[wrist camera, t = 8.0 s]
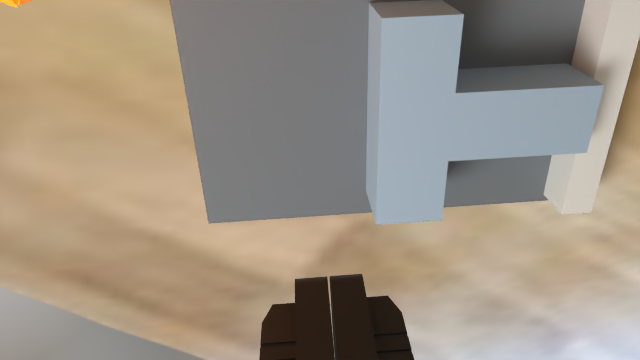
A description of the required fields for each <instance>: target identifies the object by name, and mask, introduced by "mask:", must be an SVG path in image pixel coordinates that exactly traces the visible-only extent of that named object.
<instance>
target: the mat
mask: <svg viewBox="0 0 640 360" xmlns="http://www.w3.org/2000/svg"><path fill="white" fill-rule="evenodd" d="M398 1H420V0H170V5H171V11H172V16H173V22H174V28H175V33H176V39H177V45H178V51H179V56H180V62H181V68H182V73H183V79H184V85H185V91H186V96H187V102H188V108H189V113H190V119H191V125H192V131H193V136H194V142H195V148H196V153H197V159H198V165H199V171H200V176H201V182H202V188H203V193H204V199H205V205H206V211H207V216H208V222H209V223H222V222H236V221H251V220H266V219H280V218H295V217H310V216H324V215H339V214H354V213H368V212H372V210H371V206H370V203H369V200H368V196H367V193H366V153H367V92H368V30H369V3H376V2H398ZM442 1H444V2H446V3H447V4H449V5H450V6H452V7H453V8H455V9H456V10H458V11H460V12H461V13H463V14H464V19H463V28H462V37H461V47H460V56H459V65H458V69H469V68H488V67H507V66H527V65H546V64H565V63H567V64H569V65H570V66H571V64H572V60H573V55H574V51H575V46H576V41H577V37H578V32H579V27H580V23H581V18H582V13H583V9H584V4H585V0H442ZM551 157H552V155H544V156H527V157H511V158H494V159H478V160H461V161H448V168H447V178H446V187H445V196H444V206H443V207H456V206H471V205H485V204H500V203H514V202H529V201H544V200H548V199H547V198H546V197H545V196H544V195H543V194H544V189H545V185H546V180H547V176H548V171H549V166H550V162H551Z"/></svg>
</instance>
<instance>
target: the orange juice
mask: <svg viewBox="0 0 640 360" xmlns="http://www.w3.org/2000/svg"><path fill="white" fill-rule="evenodd" d="M28 1H31V0H0V2H3V3H5V4H8V5H10V6H13V7H16V8H17V6H16V5H15V4H17V5H21V4H23V3H26V2H28Z"/></svg>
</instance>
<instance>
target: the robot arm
mask: <svg viewBox="0 0 640 360" xmlns="http://www.w3.org/2000/svg"><path fill="white" fill-rule="evenodd" d="M330 292H331V309H332V324H331V313H330V303H329V292H328V281H327V277H316V278H303V279H295V303H287V304H274V305H272V307H271V308H270V310H269V312H268V314H267V315H266V317H265V319H264V320H263V322H262V330H261V348H260V360H414V357H413V354H412V352H411V346H410V342H409V338H408V336H407V331H406V327H405V323H404V319H403V316H402V312H401V311H400V310H399V309H398V307H397V306H396V305H395V304H394V303H393V301H392V300H391V299H390V298H389V297H388V296H378V297H366V292H365V287H364V281H363V277H362V274H354V275H341V276H330ZM332 326H333V335H332ZM333 340H334V345H333ZM334 352H335V356H334Z"/></svg>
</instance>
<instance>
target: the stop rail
mask: <svg viewBox="0 0 640 360" xmlns="http://www.w3.org/2000/svg"><path fill="white" fill-rule="evenodd" d="M639 38H640V0H585V4H584V9H583V13H582V18H581V23H580V27H579V32H578V37H577V41H576V46H575V51H574V55H573V60H572V64H571V66H572V67H574V68H576V69H577V70H579V71H581V72H582V73H584V74H586V75H588V76H589V77H591V78H593V79H594V80H596V81H598V82H600V83H601V84H603V85H604V88H603V92H602V96H601V100H600V104H599V108H598V111H597V115H596V119H595V123H594V127H593V131H592V135H591V139H590V143H589V146H588V150H587V153H577V154H560V155H552V157H551V162H550V166H549V171H548V176H547V180H546V185H545V189H544V194H543V195H544V196H545V197H546V198H547V199H548V200H549V201H550V202H551V204H552V205H553V206H554V207H555V208H556V209H557V210H558V211H559V213H560V214H574V213H588V212H591V211H592V208H593V204H594V200H595V197H596V193H597V190H598V186H599V182H600V179H601V175H602V171H603V168H604V164H605V161H606V157H607V153H608V150H609V146H610V143H611V139H612V135H613V132H614V128H615V124H616V121H617V117H618V114H619V110H620V106H621V103H622V99H623V96H624V92H625V88H626V85H627V81H628V77H629V74H630V70H631V67H632V63H633V59H634V56H635V52H636V49H637V45H638V41H639Z"/></svg>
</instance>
